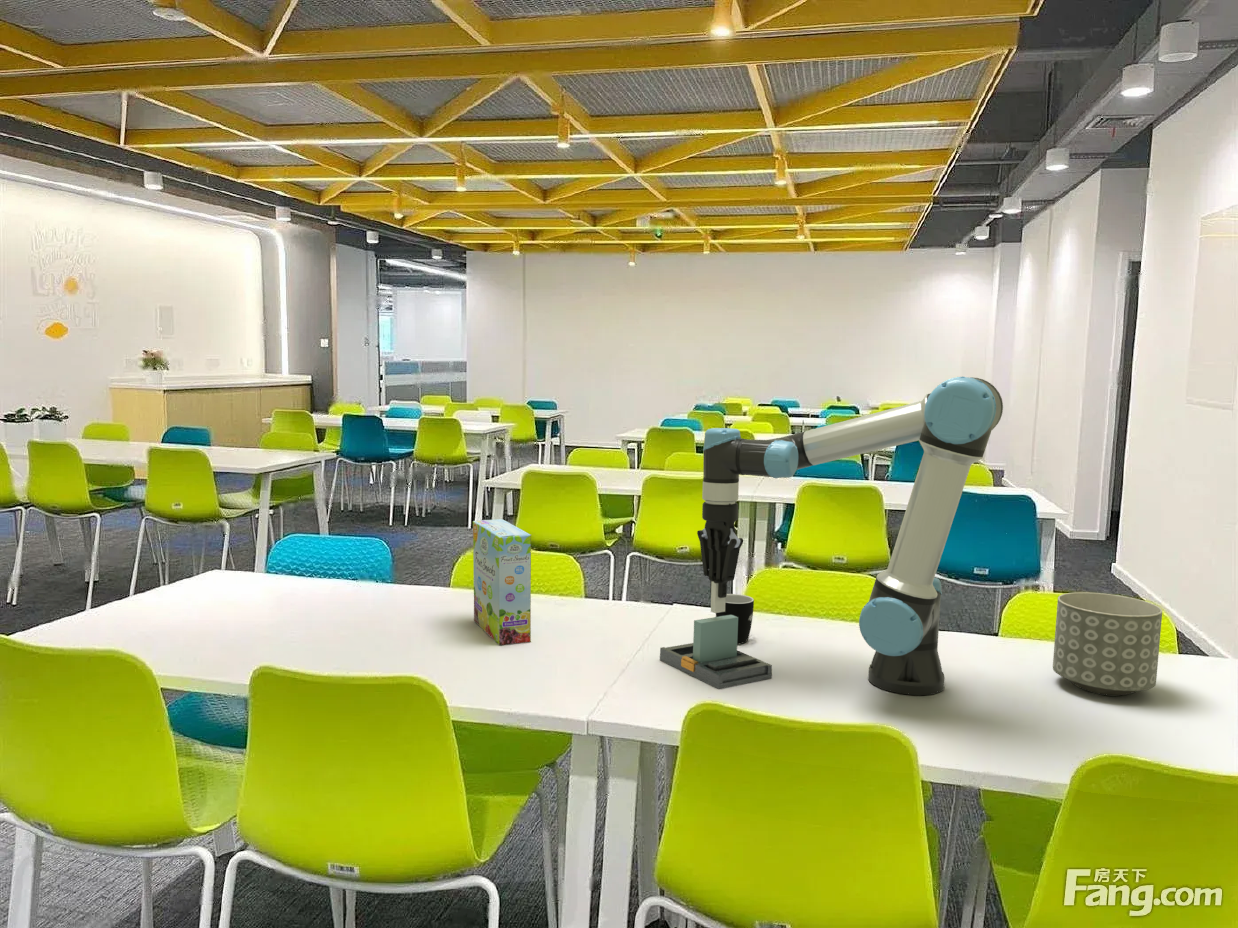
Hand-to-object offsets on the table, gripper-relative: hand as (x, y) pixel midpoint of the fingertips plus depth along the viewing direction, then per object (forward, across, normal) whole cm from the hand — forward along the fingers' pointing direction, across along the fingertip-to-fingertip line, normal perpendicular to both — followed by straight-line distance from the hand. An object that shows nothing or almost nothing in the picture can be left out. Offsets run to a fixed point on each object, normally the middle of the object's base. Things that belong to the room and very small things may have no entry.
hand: (717, 611), depth 198 cm
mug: (+13, +16, -18) cm, 27 cm away
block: (+12, 0, 0) cm, 12 cm away
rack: (+13, 0, 0) cm, 13 cm away
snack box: (+12, +46, +29) cm, 56 cm away
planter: (+14, -48, -64) cm, 81 cm away
